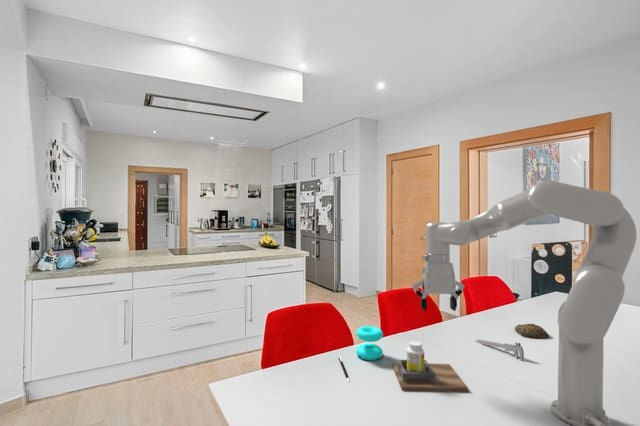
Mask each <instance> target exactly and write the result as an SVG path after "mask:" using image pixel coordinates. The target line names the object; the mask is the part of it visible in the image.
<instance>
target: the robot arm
mask: <svg viewBox="0 0 640 426" xmlns="http://www.w3.org/2000/svg"><path fill="white" fill-rule="evenodd" d="M547 215H552V216H555V217H559V218H563V219H565V220H570V221H574V222H578V223H583V224H585V225H588V226H591V228H592V236H591V240H590V242H589V245H588V248H587V250H586V252H585V254H584V257H583V260H582V261H581V263H580V266H579V267H578V269H577V270H576V272H575V274H574V279H573V282H572V285H571V287H570V290H569V293H568V294H567V297H566V299H565V301H563V303H561V305H560V306H559V310H558V313H557V325H558V357H557V358H558V363H557V364H558V367H557V371H558V372H557V374H558V375H557V378H558V379H557V380H558V381H557V399H555V400H553V401H552V402H551V403H550V408H551V412H552V413H553V414H554V415H555V416H557V418H559V419H560V420H561V421H564V422H565V423H567V424H570V425H572V426H613V424H612V422H611V419H610V417H609V416H607V414H606V410H605V409H604V407H603V406H604V404H603V403H604V338H605V336H606V335H607V333H608V331H609V329H610V327H611V324H612V322H613V321H614V319H615V317H616V314H617V312H618V310H619V307H620V305H621V303H622V301H623V298H624V296H625V291H626V289H625V282H624V280H623V277H624V274H625V271H626V269H627V268H628V265H629V262H630V260H631V257H632V253H633V252H634V249H635V246H636V242H637V236H638V235H637V227H636V223H635V221H634V219H633V217H632V216H631V214H630V212H629V211H628V210H627V209H626V208H625V207H624V205H623V202H622V201H621V199H620V198H619V197H618V196H616V195H615V194H613V193H610V192H606V191H602V190H596V189H593V188H592V189H591V188H588V187H583V186H578V185H573V184H568V183H564V182H559V181H555V180H548V179H547V180H542V181H539V182H537V183H536V184H534V185H533V186H532V187H531V188H529V189H526V190H525V191H522V192H520V193H517V194H515V195H513V196H511V197H507V199H504V200H501V201H499V202H497V203H496V204H494V205H493V206H492V207H491V208H490V209H488V210H486V211H485V212H482V213H481V214H478V215H476V216H473V217H471V218H469V219H467V220H464V221H456V222H449V223H447V222H443V221H442V222H437V221H436V222H433V221H432V222H427V223H426V225H425V254H424V255H422V256H421V260H423V261H426V262H424V264H423V269H422V276H421V278H422V279H421V280H418V281H417V282H415V283H413V284H411V285H412V286H411V287H412V289H413V290H414V293H415V294H416V295H418V297H419V298H420V299H419V300H420V308H421V309H422V310H423V311H424V312H426V311H428V306H427V303H428V302H427V298H426V297H428V295H429V294H430V295H448V294H449V295H451V296H450V297H449V308H450V310H452V311H456V310H457V308H458V301H457V300H458V299H459V296H461V294H462V293H463V290H464V289H465V284H463V283H461V282H459V281H458V280H456V275H455V268H454V264H453V263H452V262H451V260H450V259H451V252H450V250H451V249H450V247H451V246H450V245H453V246H465V245H467V244H471V243H474V242H476V241H479V240H482V239H484V238H487V237H489V236H492V235H494V234H497V233H500V232H503V231H508V230H509V231H510V230H512V229H513V228H516V227H518V226H521V225H524V224H526V223H529V222H531V221H534V220H538V219H539V218H542V217H545V216H547ZM419 287H421V289H422V290H421V291H420V290H419Z"/></svg>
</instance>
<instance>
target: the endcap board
mask: <svg viewBox="0 0 640 426" xmlns="http://www.w3.org/2000/svg"><path fill="white" fill-rule="evenodd" d="M391 364H392V365H391V367H392V370H393V369H394V370H393V372H394V374H395V377H396V380H397V382H398V384H399V386H400V389H401V391H416V392H417V391H419V392H420V391H421V392H422V391H425V392H465V393H466V392H467V393H468V391H469V387H468V386H467V385H466V383H465V382H464V381H463V380H462V378H461V377H460V376H459V375H458V373H457V372H456V371H455V369H454V368H453V367H452V365H451V364H449V363H429V362H428V361H427V360H426V359H424V372H407V359H396V362H392V363H391Z"/></svg>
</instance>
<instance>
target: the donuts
mask: <svg viewBox="0 0 640 426" xmlns="http://www.w3.org/2000/svg"><path fill="white" fill-rule="evenodd" d="M356 336H357V337H358V339H359V340H360V341H364V342H368V343H362V344H360V345H358V346H357V348H356V350H355V352H356V355H357V356H358V357H359V358H360V359H363V360H365V361H366V360H367V361H377V360H379V359H381V358H382V356H383V354H384V352H383V349H382V348H381V346H379V345H377V344H375V343H373V342H378V341H380V340H381V339H382V338H383V337H384V333H383V331H382V330H381V328H379V327H377V326H371V325H366V326H365V325H364V326H360V327H358V328H357V329H356Z"/></svg>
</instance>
